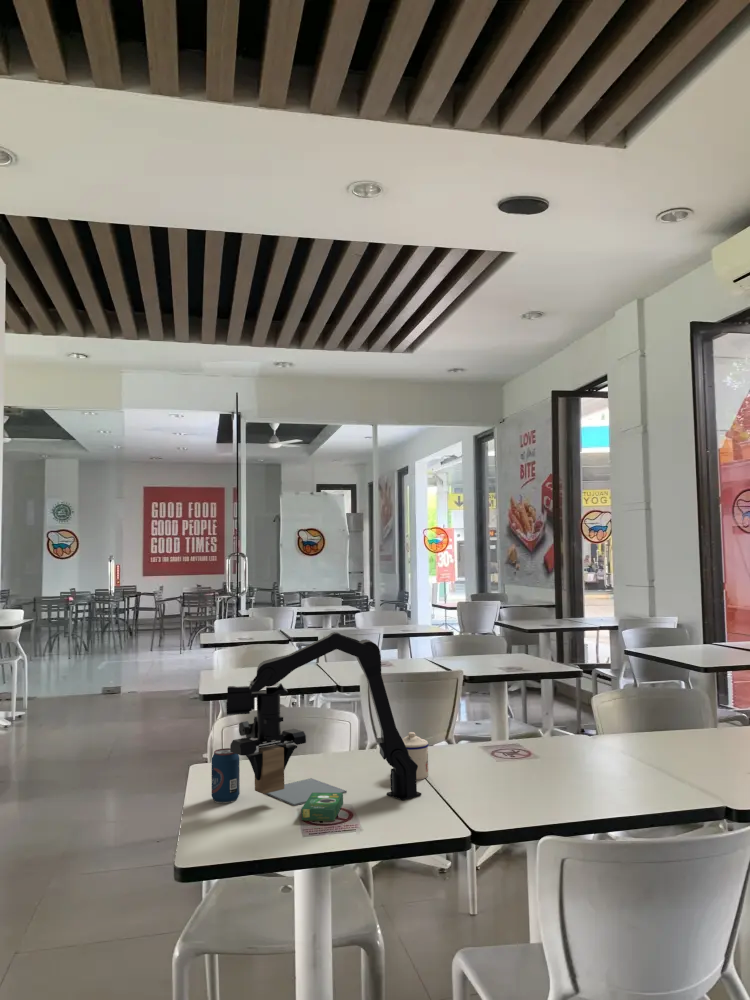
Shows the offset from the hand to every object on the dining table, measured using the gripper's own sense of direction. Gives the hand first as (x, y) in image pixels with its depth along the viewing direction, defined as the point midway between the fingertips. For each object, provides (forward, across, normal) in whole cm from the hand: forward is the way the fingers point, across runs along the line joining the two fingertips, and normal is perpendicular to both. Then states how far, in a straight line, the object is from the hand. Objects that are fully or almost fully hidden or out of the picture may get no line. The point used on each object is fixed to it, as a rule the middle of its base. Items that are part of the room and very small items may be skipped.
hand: (269, 777), depth 191 cm
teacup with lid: (+7, -43, +4) cm, 44 cm away
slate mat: (+6, -12, -3) cm, 14 cm away
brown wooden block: (+3, 0, 0) cm, 3 cm away
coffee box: (+5, -11, +9) cm, 15 cm away
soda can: (+7, +6, -11) cm, 14 cm away
